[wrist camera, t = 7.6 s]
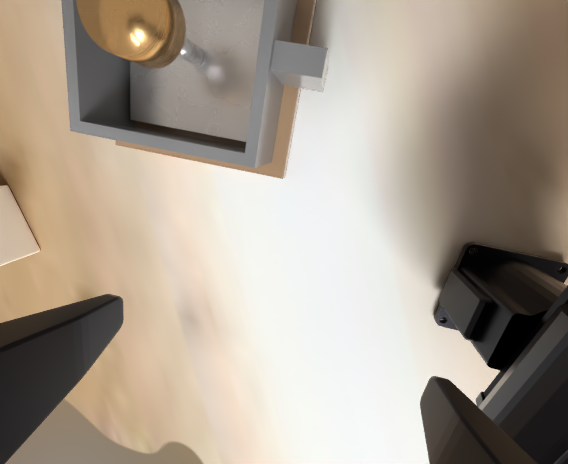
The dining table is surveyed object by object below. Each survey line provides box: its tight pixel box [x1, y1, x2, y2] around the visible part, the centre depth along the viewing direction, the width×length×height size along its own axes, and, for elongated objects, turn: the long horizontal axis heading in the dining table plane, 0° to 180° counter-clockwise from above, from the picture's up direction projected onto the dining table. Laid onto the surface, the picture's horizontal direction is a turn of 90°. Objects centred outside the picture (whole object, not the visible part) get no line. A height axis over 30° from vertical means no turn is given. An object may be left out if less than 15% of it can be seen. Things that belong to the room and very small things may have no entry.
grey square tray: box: [62, 0, 328, 179], centre depth 15 cm, size 14×12×6 cm
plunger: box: [76, 0, 264, 142], centre depth 13 cm, size 8×8×7 cm
